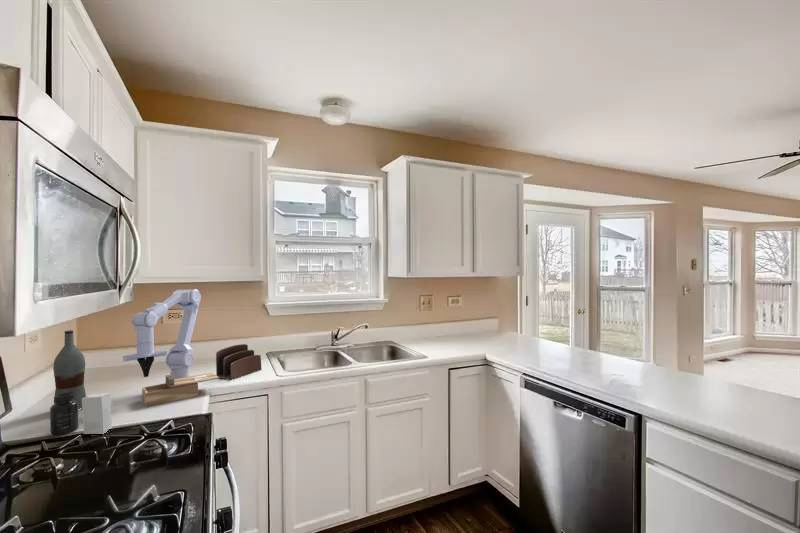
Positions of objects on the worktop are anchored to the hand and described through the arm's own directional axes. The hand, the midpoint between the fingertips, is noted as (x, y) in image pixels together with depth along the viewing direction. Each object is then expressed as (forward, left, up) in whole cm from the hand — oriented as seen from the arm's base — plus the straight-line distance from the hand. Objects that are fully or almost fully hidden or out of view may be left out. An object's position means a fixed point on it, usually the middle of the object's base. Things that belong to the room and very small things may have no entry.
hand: (146, 376), depth 150 cm
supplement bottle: (+16, -24, -10) cm, 31 cm away
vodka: (-11, -23, -10) cm, 27 cm away
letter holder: (-16, +41, -10) cm, 45 cm away
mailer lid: (+2, +16, -5) cm, 17 cm away
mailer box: (+2, +8, -10) cm, 13 cm away
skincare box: (+26, -16, -10) cm, 32 cm away
